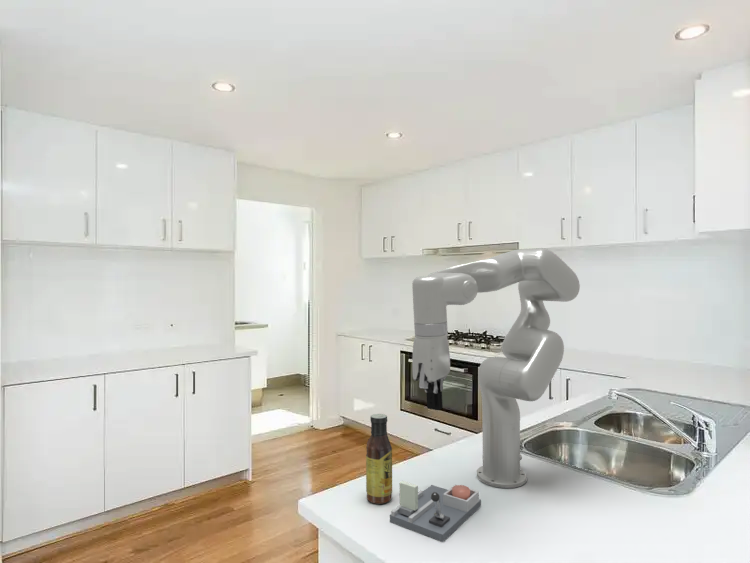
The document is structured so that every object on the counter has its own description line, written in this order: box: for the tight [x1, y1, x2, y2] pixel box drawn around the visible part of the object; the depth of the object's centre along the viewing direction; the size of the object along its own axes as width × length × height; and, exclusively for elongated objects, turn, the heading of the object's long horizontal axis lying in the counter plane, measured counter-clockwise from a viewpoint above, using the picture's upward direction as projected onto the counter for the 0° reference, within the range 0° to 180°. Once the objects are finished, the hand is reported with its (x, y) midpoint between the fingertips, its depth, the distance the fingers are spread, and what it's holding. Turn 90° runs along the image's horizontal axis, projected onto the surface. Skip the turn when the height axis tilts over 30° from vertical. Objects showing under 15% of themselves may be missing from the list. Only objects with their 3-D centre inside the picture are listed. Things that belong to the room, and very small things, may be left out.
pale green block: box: [398, 480, 419, 516], centre depth 102 cm, size 3×4×6 cm
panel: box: [389, 484, 482, 543], centre depth 105 cm, size 18×13×4 cm
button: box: [451, 484, 471, 500], centre depth 107 cm, size 4×4×3 cm
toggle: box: [431, 492, 445, 520], centre depth 98 cm, size 2×2×6 cm
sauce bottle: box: [365, 413, 393, 505], centre depth 112 cm, size 7×6×20 cm
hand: (434, 408), depth 109 cm, fingers closed
